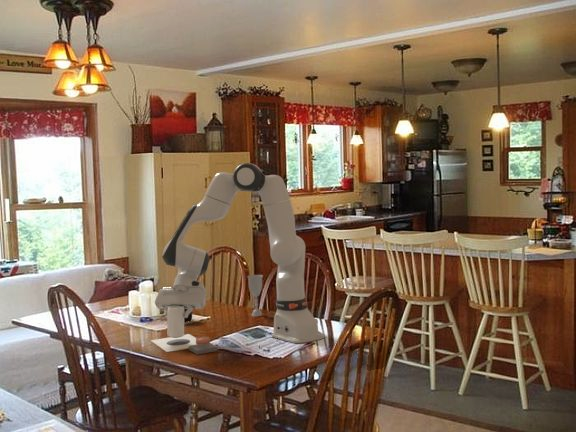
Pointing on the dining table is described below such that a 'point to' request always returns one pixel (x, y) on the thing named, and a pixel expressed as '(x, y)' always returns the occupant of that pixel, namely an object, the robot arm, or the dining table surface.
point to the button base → (203, 348)
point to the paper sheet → (175, 343)
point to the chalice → (255, 291)
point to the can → (175, 321)
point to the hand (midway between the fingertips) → (176, 317)
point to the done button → (202, 340)
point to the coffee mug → (188, 316)
